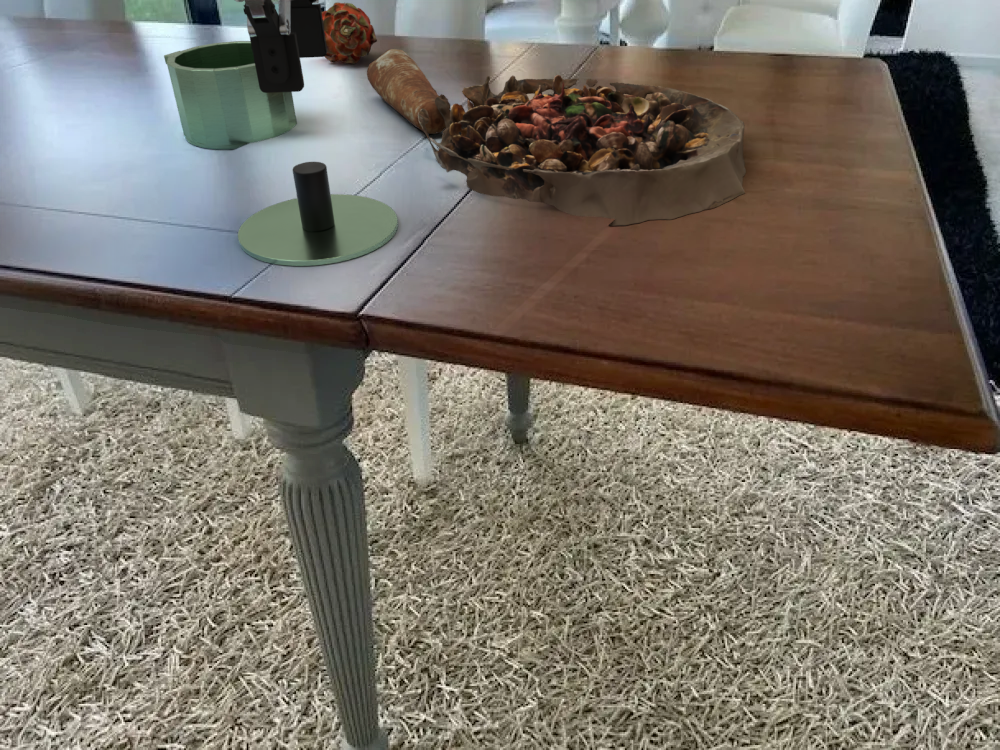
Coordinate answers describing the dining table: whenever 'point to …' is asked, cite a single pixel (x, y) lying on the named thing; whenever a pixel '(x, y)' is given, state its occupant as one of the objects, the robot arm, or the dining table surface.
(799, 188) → the dining table surface
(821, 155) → the dining table surface
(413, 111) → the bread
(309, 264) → the lid
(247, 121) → the pot
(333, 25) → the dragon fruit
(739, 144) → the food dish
